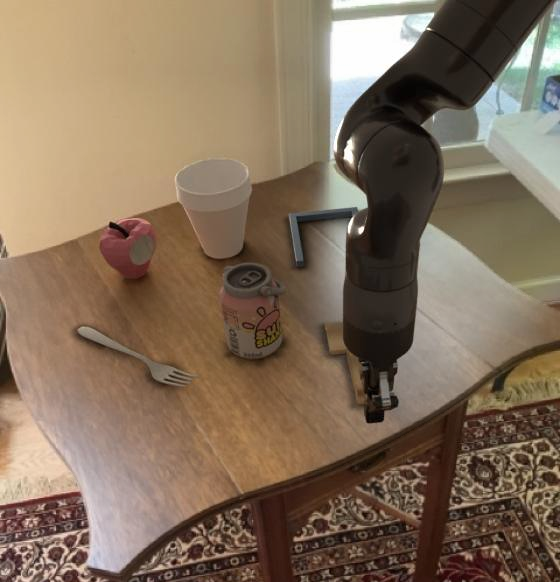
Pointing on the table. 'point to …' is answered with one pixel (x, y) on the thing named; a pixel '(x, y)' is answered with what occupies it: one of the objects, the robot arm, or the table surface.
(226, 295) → the beverage can
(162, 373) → the fork
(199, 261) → the table surface
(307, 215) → the u-shaped stop
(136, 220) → the apple
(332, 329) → the t-shaped block
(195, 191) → the cup
